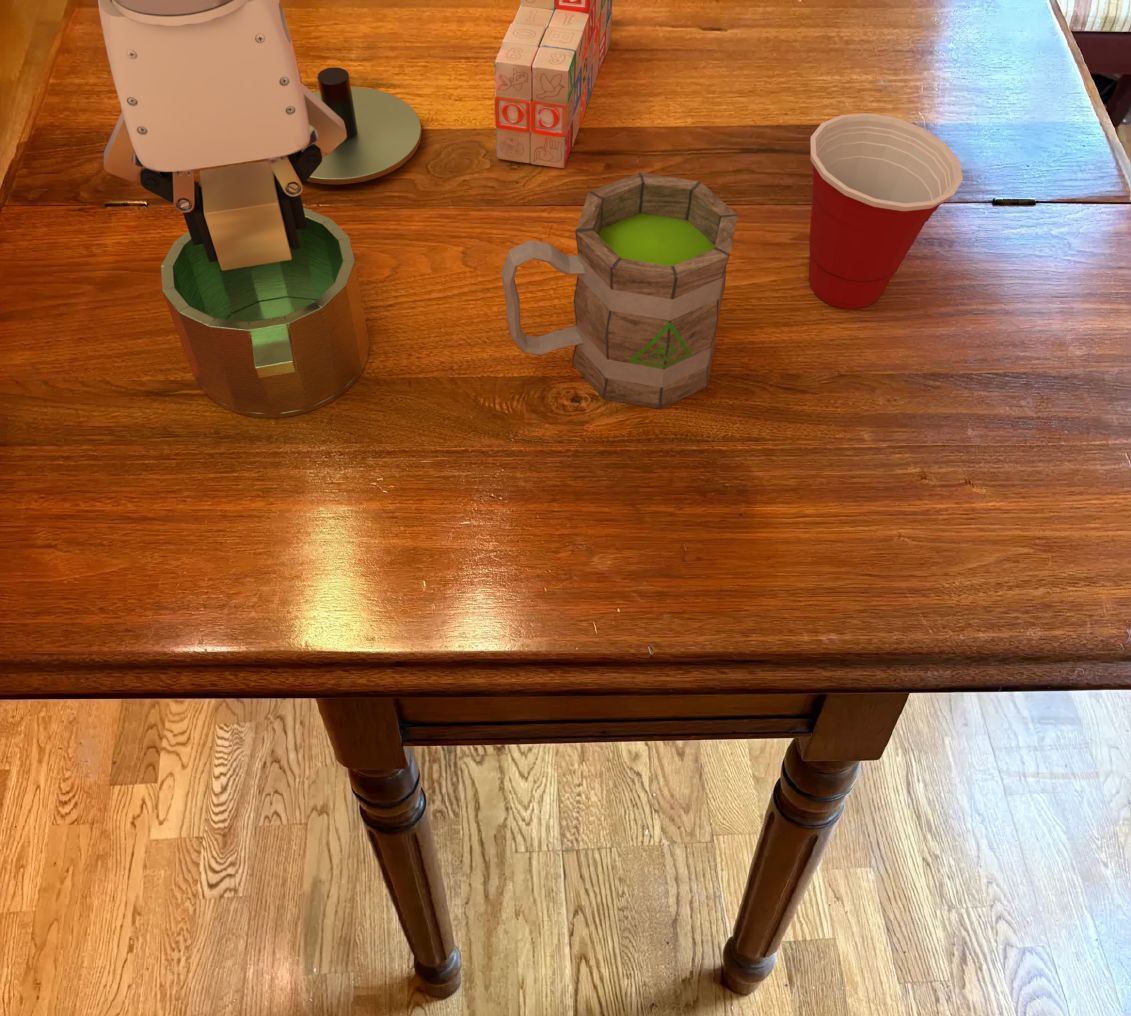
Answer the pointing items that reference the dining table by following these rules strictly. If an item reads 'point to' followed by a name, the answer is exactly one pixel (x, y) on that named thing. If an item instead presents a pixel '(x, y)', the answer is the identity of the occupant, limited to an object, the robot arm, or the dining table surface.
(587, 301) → the mug
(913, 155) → the plastic cup
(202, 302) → the pot
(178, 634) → the dining table surface
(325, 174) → the lid
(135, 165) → the robot arm
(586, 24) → the stack of blocks
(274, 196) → the block
